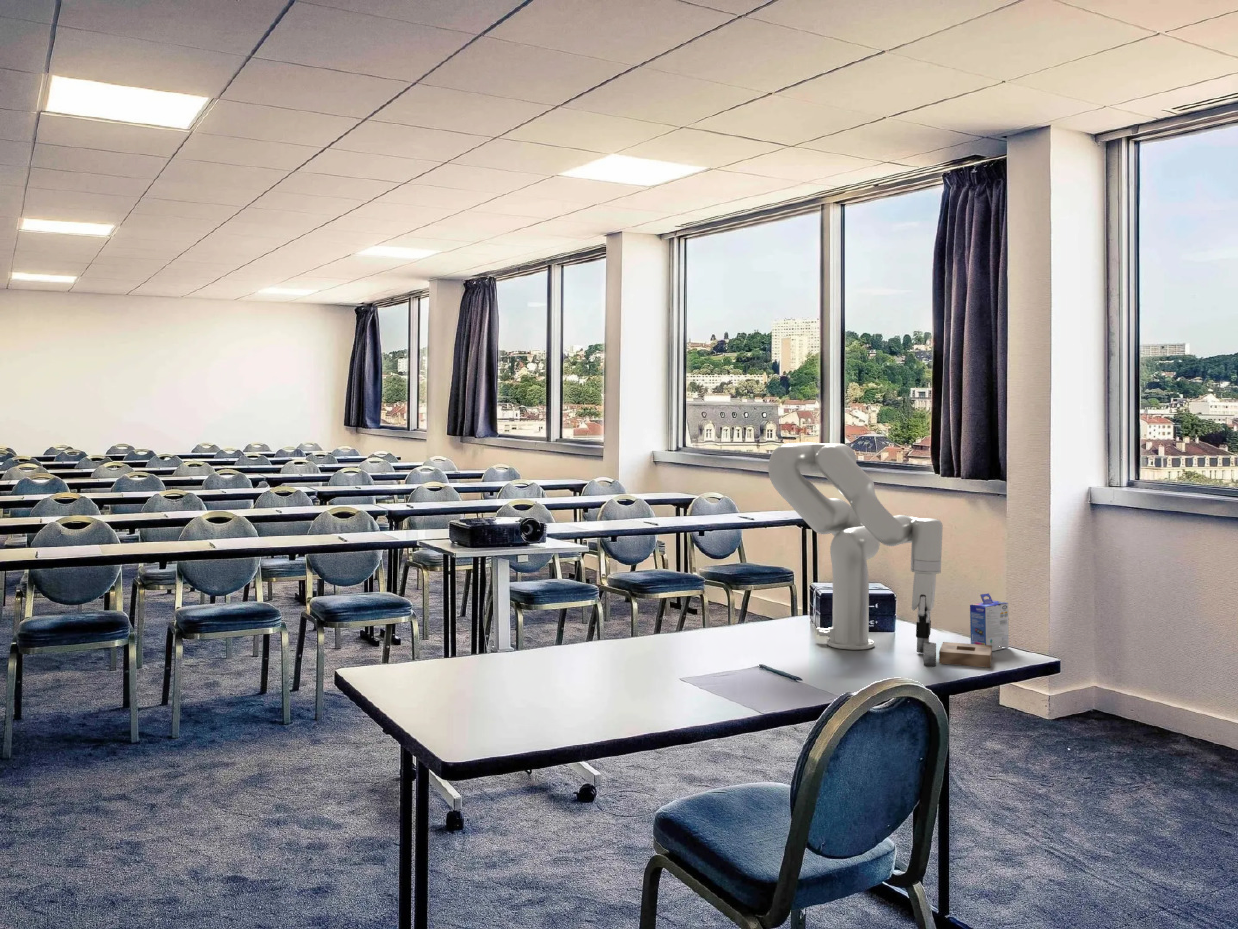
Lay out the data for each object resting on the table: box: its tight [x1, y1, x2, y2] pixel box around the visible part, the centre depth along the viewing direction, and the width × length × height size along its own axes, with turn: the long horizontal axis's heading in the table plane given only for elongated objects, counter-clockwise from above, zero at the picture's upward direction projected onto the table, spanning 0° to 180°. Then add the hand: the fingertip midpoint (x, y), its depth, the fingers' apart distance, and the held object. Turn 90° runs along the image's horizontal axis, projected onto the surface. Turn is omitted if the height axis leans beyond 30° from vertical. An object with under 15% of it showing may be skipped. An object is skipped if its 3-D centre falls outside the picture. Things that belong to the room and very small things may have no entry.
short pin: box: [922, 641, 937, 668], centre depth 256 cm, size 3×3×6 cm
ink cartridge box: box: [969, 593, 1010, 652], centre depth 275 cm, size 10×6×14 cm, turn 124°
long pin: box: [916, 609, 931, 654], centre depth 268 cm, size 3×3×12 cm
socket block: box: [938, 641, 993, 668], centre depth 262 cm, size 12×12×3 cm
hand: (923, 635), depth 269 cm, fingers closed on long pin, 3 cm apart
